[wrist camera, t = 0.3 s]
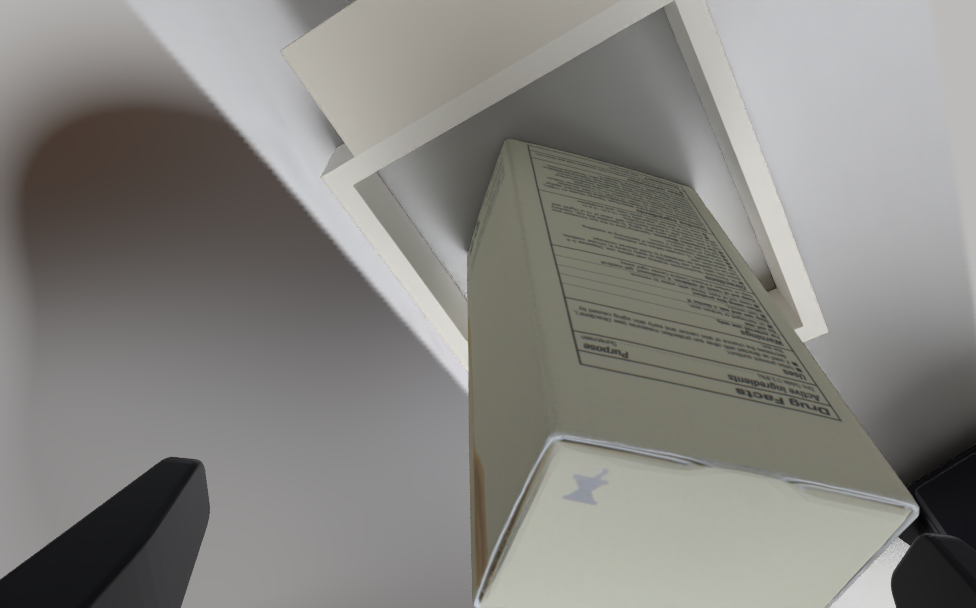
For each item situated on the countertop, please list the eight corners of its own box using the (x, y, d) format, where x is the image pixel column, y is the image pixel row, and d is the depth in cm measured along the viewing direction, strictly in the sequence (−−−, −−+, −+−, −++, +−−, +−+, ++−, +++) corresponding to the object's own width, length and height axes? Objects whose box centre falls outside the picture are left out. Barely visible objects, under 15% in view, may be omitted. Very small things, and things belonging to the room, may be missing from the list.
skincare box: (463, 258, 22) (446, 613, 11) (504, 129, 19) (528, 426, 9) (650, 306, 23) (788, 672, 12) (709, 189, 20) (938, 517, 10)
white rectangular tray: (824, 356, 24) (853, 398, 22) (562, 462, 27) (568, 507, 25) (618, -179, 16) (636, -185, 14) (268, 54, 18) (243, 75, 16)
